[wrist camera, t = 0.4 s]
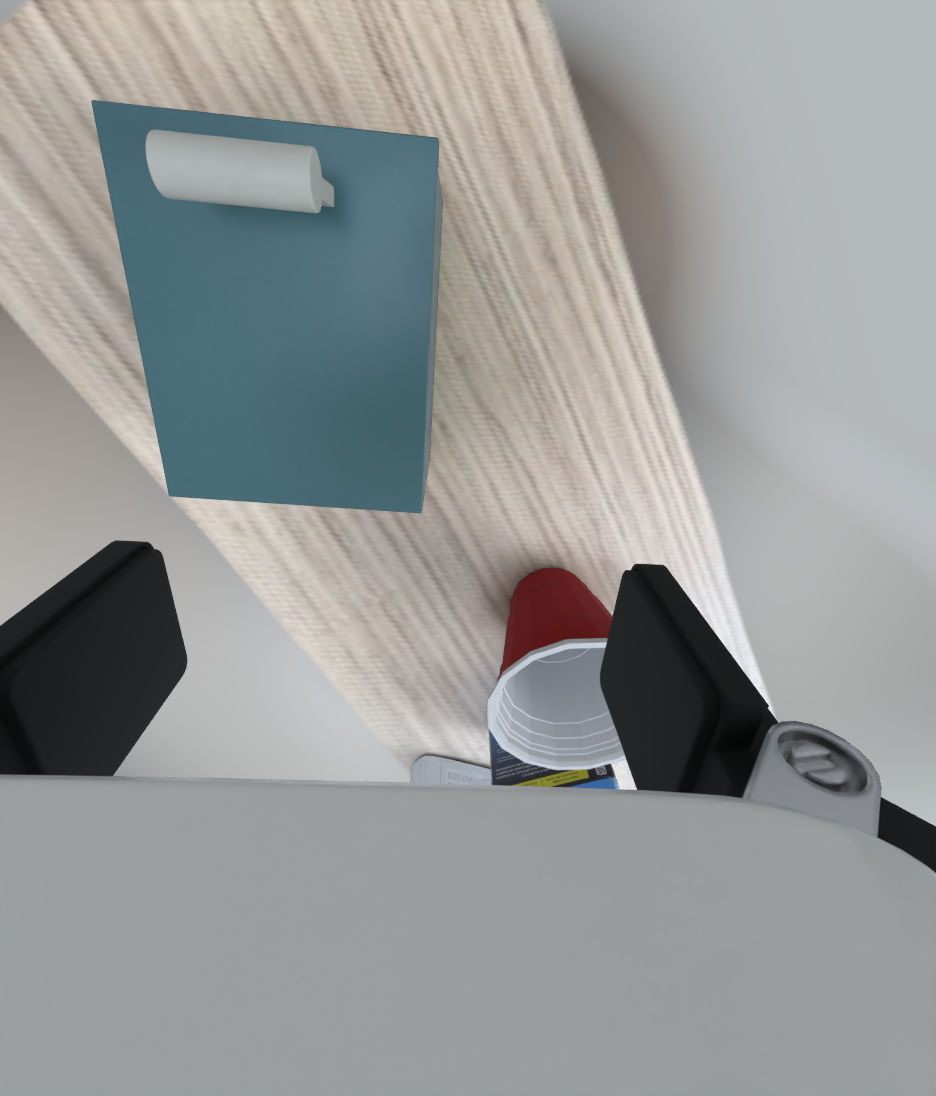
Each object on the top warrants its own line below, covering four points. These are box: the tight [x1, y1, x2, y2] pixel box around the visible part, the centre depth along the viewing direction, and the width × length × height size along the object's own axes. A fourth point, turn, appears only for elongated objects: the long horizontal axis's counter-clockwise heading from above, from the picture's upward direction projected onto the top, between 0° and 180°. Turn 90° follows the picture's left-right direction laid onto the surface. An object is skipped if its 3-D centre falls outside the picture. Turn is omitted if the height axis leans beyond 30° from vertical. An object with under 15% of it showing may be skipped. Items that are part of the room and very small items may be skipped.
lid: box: [92, 100, 439, 513], centre depth 21 cm, size 15×13×5 cm
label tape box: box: [489, 730, 619, 789], centre depth 39 cm, size 9×4×12 cm, turn 109°
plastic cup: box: [487, 568, 626, 770], centre depth 34 cm, size 11×11×12 cm
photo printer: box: [410, 756, 491, 785], centre depth 43 cm, size 10×4×12 cm, turn 71°
